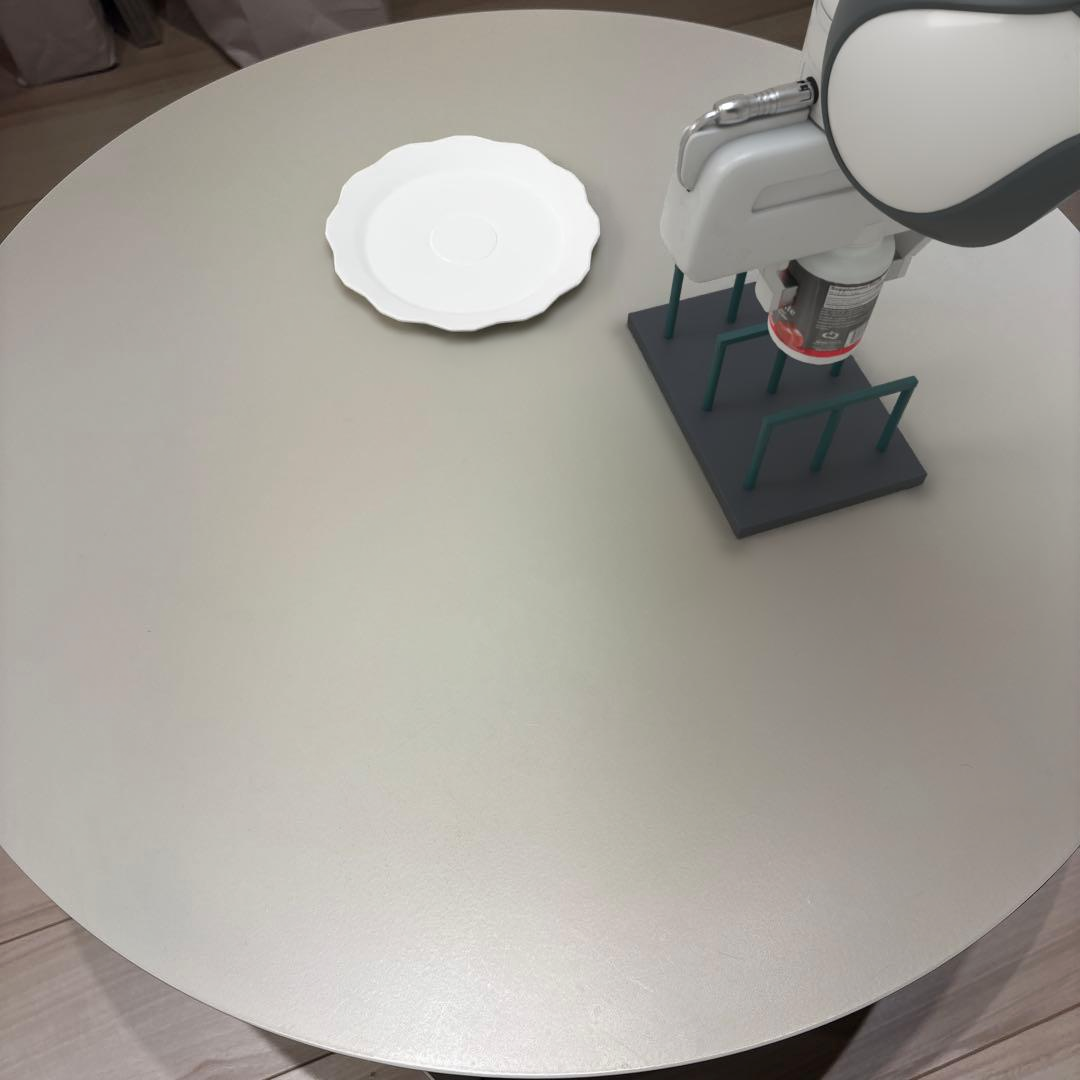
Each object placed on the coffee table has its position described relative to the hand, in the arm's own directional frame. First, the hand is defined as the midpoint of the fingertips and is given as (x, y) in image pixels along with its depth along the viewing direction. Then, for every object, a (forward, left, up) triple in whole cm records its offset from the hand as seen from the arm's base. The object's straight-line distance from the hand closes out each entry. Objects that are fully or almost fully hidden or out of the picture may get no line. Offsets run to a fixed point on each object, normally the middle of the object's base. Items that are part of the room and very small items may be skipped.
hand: (829, 286), depth 62 cm
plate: (+29, +13, -19) cm, 37 cm away
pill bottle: (0, 0, -4) cm, 4 cm away
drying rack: (+7, -3, -19) cm, 21 cm away
